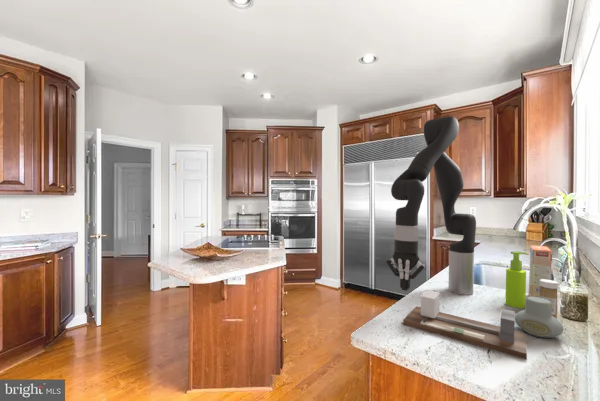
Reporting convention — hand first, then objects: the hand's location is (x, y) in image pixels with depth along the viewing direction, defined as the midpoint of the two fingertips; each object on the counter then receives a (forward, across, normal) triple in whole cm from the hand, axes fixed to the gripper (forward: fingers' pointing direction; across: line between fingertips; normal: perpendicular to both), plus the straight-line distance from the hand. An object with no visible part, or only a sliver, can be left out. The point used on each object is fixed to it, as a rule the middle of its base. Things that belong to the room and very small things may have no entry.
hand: (404, 289), depth 95 cm
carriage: (+6, -8, +2) cm, 10 cm away
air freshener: (+8, -35, -12) cm, 38 cm away
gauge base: (+8, -17, +1) cm, 19 cm away
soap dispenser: (+8, -30, -36) cm, 48 cm away
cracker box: (+8, -37, -48) cm, 61 cm away
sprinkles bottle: (+8, -38, -24) cm, 46 cm away
